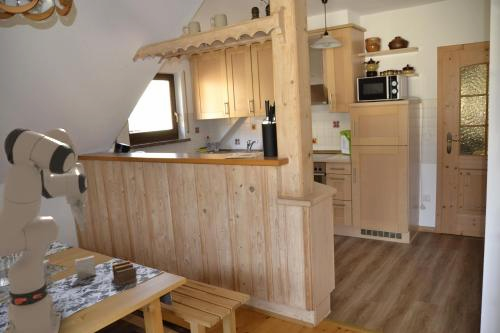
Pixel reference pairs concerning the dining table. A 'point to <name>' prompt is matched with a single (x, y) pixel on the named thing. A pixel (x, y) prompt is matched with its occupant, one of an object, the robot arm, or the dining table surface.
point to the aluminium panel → (85, 267)
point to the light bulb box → (47, 272)
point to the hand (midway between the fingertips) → (80, 227)
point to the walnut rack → (124, 272)
